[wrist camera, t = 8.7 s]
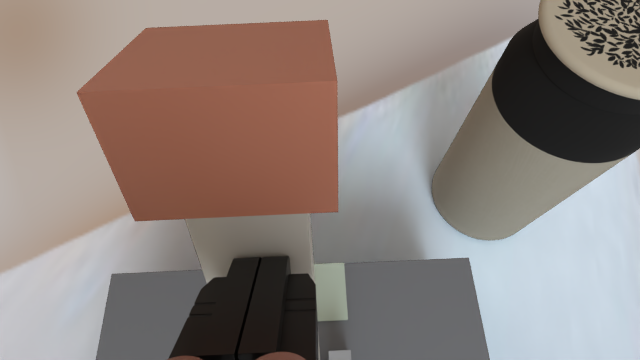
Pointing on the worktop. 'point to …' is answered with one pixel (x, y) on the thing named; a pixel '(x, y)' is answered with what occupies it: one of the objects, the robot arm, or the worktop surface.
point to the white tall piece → (224, 135)
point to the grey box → (319, 312)
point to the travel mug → (545, 118)
